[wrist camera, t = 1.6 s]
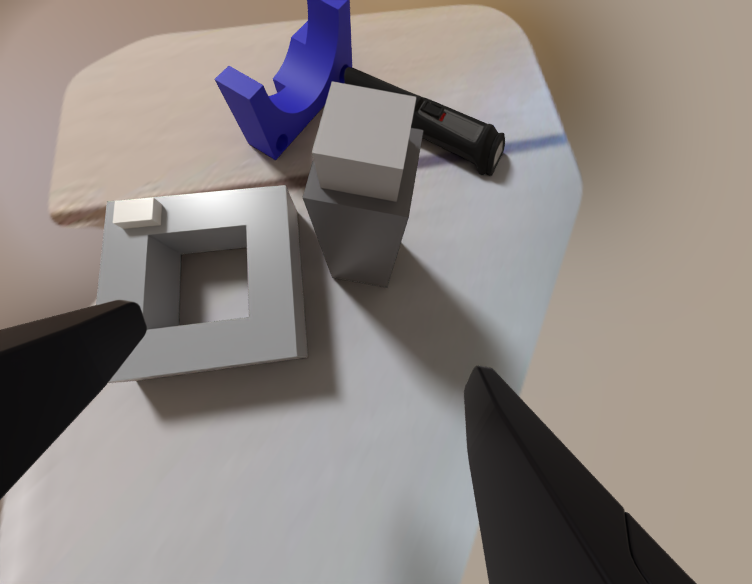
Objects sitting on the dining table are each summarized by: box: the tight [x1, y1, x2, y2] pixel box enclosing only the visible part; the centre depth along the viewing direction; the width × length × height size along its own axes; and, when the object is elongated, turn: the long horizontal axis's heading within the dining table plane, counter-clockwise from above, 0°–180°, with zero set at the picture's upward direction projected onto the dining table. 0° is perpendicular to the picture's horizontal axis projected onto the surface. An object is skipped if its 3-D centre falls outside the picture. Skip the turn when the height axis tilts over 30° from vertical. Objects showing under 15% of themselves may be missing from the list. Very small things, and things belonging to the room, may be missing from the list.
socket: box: [96, 185, 308, 383], centre depth 19 cm, size 12×12×4 cm
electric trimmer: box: [344, 67, 505, 176], centre depth 25 cm, size 4×16×3 cm, turn 62°
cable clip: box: [215, 0, 352, 160], centre depth 23 cm, size 12×4×6 cm, turn 147°
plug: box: [303, 82, 423, 288], centre depth 16 cm, size 4×4×13 cm
